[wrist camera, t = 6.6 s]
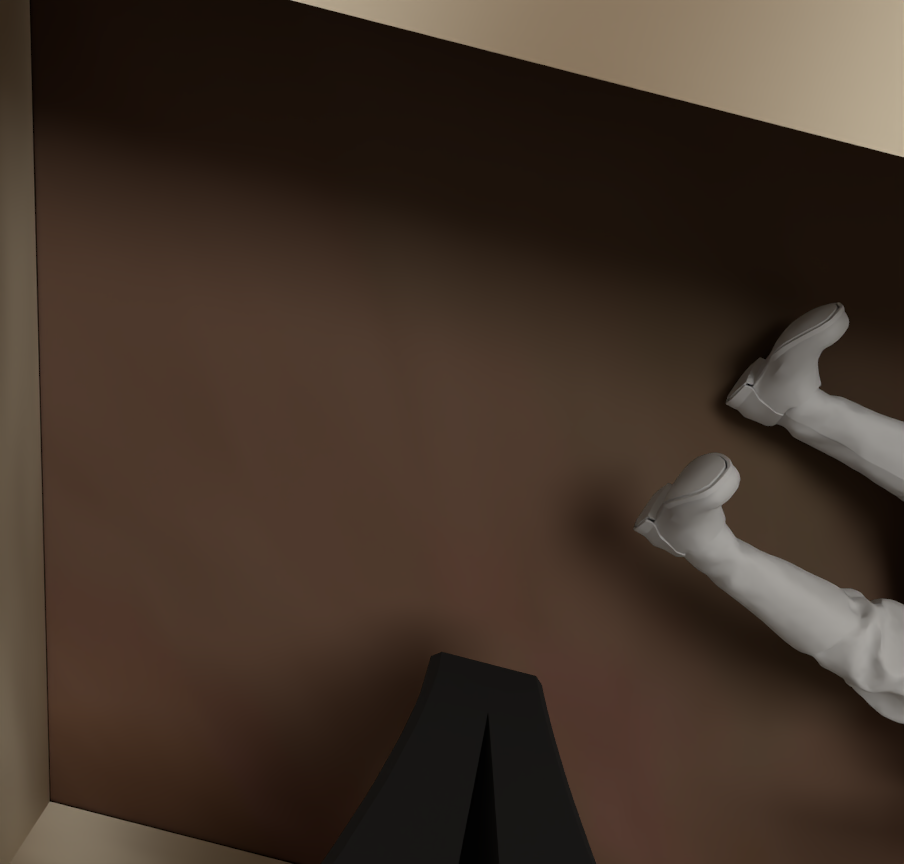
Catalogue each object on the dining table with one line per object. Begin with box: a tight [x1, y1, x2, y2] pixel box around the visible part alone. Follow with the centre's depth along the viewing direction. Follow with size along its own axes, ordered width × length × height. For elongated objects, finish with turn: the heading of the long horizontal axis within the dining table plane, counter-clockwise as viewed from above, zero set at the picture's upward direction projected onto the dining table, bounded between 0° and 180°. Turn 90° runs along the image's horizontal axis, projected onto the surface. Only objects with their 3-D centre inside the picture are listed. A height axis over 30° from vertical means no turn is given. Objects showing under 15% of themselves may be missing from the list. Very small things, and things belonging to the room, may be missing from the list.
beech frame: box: [0, 0, 904, 864], centre depth 11 cm, size 15×18×4 cm
